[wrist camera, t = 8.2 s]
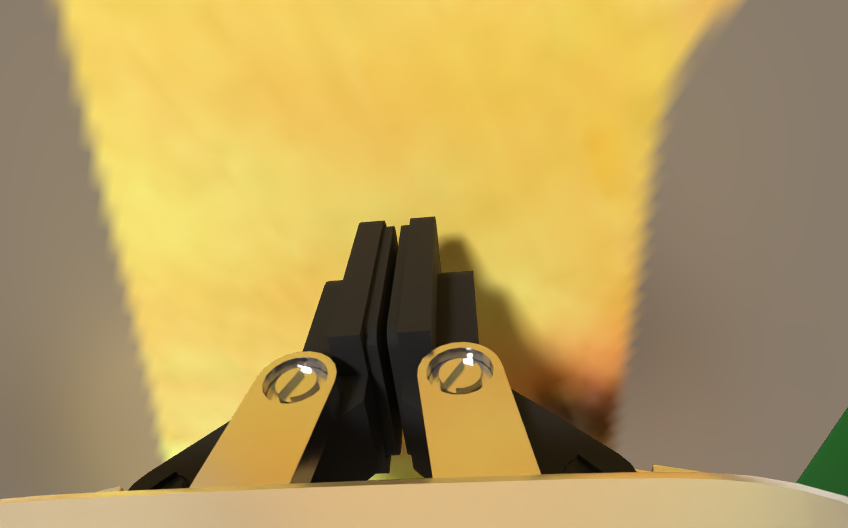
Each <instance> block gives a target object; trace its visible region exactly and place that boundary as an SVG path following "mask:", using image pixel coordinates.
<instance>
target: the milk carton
mask: <svg viewBox="0 0 848 528" xmlns="http://www.w3.org/2000/svg"><path fill="white" fill-rule="evenodd" d="M797 483H798V484H802V485H806V486H810V487H813V488H817V489H821V490H824V491H828V492H832V493H836V494H839V495H843V496H847V497H848V408H847V409H846V411H845V412H844V414H843V415H842V417H841V418H840V419H839V421H838V423H837V424H836V425H835V427H834V428H833V430H832V431H831V433H830V434H829V436H828V437H827V439H826V440H825V441H824V443H823V445H822V446H821V447H820V449H819V450H818V452H817V453H816V455H815V456H814V458H813V459H812V460H811V462H810V463H809V465H808V466H807V468H806V469H805V471H804V472H803V474H802V475H801V477H800V478H799V479H798V481H797Z"/></svg>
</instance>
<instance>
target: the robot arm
mask: <svg viewBox="0 0 848 528" xmlns="http://www.w3.org/2000/svg"><path fill="white" fill-rule="evenodd" d="M402 431H403V432H404V438H405V443H406V449H407V453H408V455H411V456H412V462H413V467H414V469H415V470H416V471H417V472H418V473H419V474H420V475H422V476H423V477H424V478H423V479H397V480H371V481H367V480H368V479H370V478H371V477H372V476H373V475H374V474H378V473H389V471H390V461H391V455H400V453H401V443H402ZM0 528H848V497H847V496H843V495H839V494H836V493H832V492H828V491H824V490H821V489H817V488H813V487H810V486H806V485H802V484H798V483H792V482H786V481H780V480H774V479H768V478H763V477H757V476H748V475H736V474H723V473H709V472H701V471H694V470H688V469H681V468H675V467H668V466H662V465H655V464H653V468H652V471H646V470H640V469H634V467H633V466H632V465H631V463H629V462H628V461H627V460H626V459H624V458H623V457H622V456H621V455H619V454H618V453H616V452H615V451H613V450H611V449H610V448H608V447H607V446H605V445H603V444H602V443H600V442H598V441H597V440H595V439H593V438H592V437H590V436H588V435H587V434H585V433H583V432H582V431H580V430H578V429H577V428H575V427H573V426H572V425H570V424H568V423H567V422H565V421H564V420H562V419H560V418H559V417H557V416H555V415H554V414H552V413H550V412H549V411H547V410H545V409H544V408H542V407H540V406H539V405H537V404H535V403H534V402H532V401H530V400H529V399H527V398H525V397H524V396H522V395H520V394H519V393H517V392H516V391H514V390H512V389H511V388H510V385H509V382H508V379H507V377H506V374H505V371H504V368H503V365H502V363H501V361H500V359H499V358H498V356H497V355H496V354H495V353H494V352H492V351H491V350H490V349H489V348H487V347H484V346H482V345H479V340H478V328H477V315H476V303H475V290H474V278H473V271H465V272H451V273H441V264H440V255H439V245H438V236H437V226H436V219H435V217H424V218H411V219H410V225H404V226H401V231H400V238H399V245H398V242H397V235H396V230H395V227H394V226H391V227H387V226H386V223H385V221H374V222H361V223H359V226H358V229H357V233H356V236H355V240H354V243H353V247H352V250H351V254H350V257H349V261H348V264H347V268H346V271H345V275H344V278H343V280H339V281H328V282H326V284H325V286H324V289H323V292H322V295H321V298H320V301H319V304H318V307H317V310H316V313H315V316H314V319H313V322H312V325H311V328H310V331H309V334H308V337H307V340H306V343H305V346H304V349H303V352H296V353H293V354H289V355H285V356H283V357H281V358H279V359H277V360H275V361H273V362H272V363H271V364H269V365H268V366H267V367H265V368H264V369H263V370H262V372H261V373H260V374H259V375H258V377H257V378H256V380H255V381H254V383H253V384H252V386H251V388H250V389H249V391H248V393H247V394H246V396H245V398H244V399H243V401H242V402H241V404H240V406H239V407H238V409H237V411H236V412H235V414H234V415H233V417H232V419H231V420H230V421H229V422H227V423H226V424H224V425H223V426H221V427H220V428H218V429H216V430H215V431H213V432H212V433H210V434H209V435H207V436H205V437H204V438H202V439H201V440H199V441H197V442H196V443H194V444H193V445H191V446H190V447H188V448H186V449H185V450H183V451H182V452H180V453H179V454H177V455H175V456H174V457H172V458H171V459H169V460H167V461H166V462H164V463H163V464H161V465H160V466H158V467H156V468H155V469H153V470H152V471H150V472H149V473H147V474H146V475H144V476H143V477H142V478H141V479H139V480H138V481H137V482H135V483H134V484H133V485H132V486H131V488H130V489H129V490H128V491H124V490H123V488H122V486H119V487H114V488H110V489H106V490H101V491H97V492H93V493H78V494H60V495H45V496H33V497H21V498H9V499H0Z"/></svg>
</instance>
